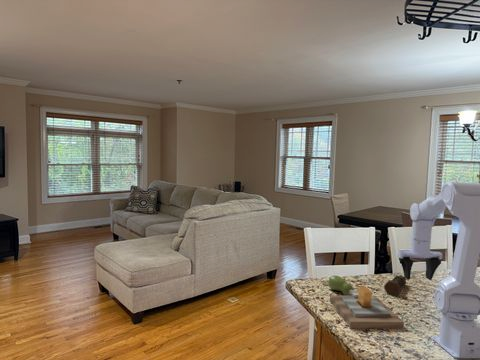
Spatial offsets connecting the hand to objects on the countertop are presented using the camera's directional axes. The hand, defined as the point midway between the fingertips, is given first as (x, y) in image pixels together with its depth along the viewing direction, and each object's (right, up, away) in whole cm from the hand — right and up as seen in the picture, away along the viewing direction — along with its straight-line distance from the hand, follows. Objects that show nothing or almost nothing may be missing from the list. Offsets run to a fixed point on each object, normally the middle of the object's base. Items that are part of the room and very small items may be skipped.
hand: (417, 278), depth 111 cm
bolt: (0, -9, +15) cm, 17 cm away
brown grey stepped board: (-21, -9, -7) cm, 24 cm away
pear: (-23, -8, +10) cm, 27 cm away
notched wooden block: (-21, -9, -7) cm, 24 cm away
